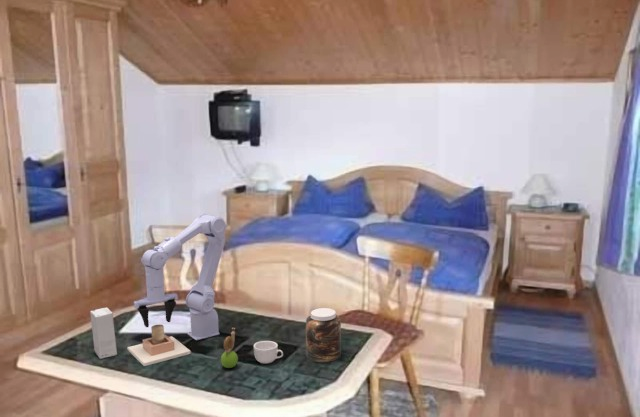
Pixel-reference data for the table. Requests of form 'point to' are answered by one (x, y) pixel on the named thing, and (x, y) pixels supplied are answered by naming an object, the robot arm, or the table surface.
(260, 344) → the teacup
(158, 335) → the maple peg
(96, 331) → the skincare box
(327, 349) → the jar
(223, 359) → the snail figurine
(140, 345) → the socket board
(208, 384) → the table surface
